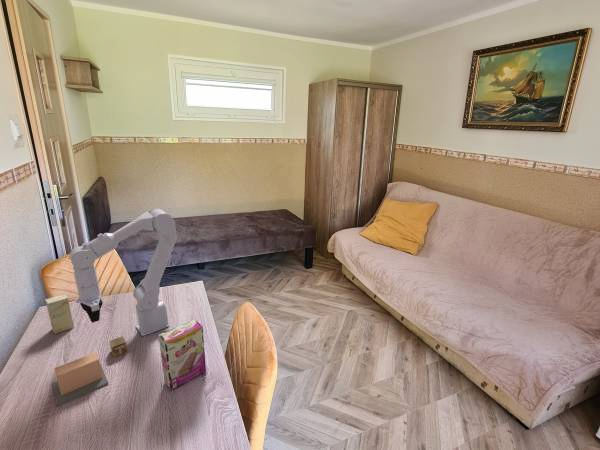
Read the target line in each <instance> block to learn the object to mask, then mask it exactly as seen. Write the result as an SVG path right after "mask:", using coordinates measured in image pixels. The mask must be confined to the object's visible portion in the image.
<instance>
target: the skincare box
mask: <svg viewBox="0 0 600 450" xmlns="http://www.w3.org/2000/svg"><path fill="white" fill-rule="evenodd" d="M45 304H46V308H47V312H48V316H49V320H50V321H49V322H50V326H51V329H52V333H53V334H54V335H55V334H57V333H61V332H64V331H67V330H70V329H73V328H75V325H74V319H73V315H72V310H71V307H70V301H69V298H68V295H67V293H64V294H59V295H56V296H53V297H49V298H45Z"/></svg>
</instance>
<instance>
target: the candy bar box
mask: <svg viewBox="0 0 600 450" xmlns="http://www.w3.org/2000/svg"><path fill="white" fill-rule="evenodd" d="M203 327H204V326H203V325H202V324H201V323H199V322H198V321H197V320H196V319H193V320H191V321H188V322H186V323H184V324H182V325H181V324H180V325H179V326H177V327H173V328H171V329H169V330H166V331H164V332H162V333H159V334H158V341H159V348H160V349H159V351H160V355H161V356H160V357H161V365H162V367H161V368H162V373H163V380H164V383H165V384H166V386H167V387H168V388H169V390H170V392H171V391H173V390H175V389H177V388H179V387H180V386H183V385H184V384H185V383H188V382H190V381H191V380H193V379H195V378H197V377H198V376H200V375H202V374H204V373H206V372H207V368H206V367H207V365H206V355H205V354H206V353H205V341H204V340H205V339H204V328H203Z"/></svg>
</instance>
